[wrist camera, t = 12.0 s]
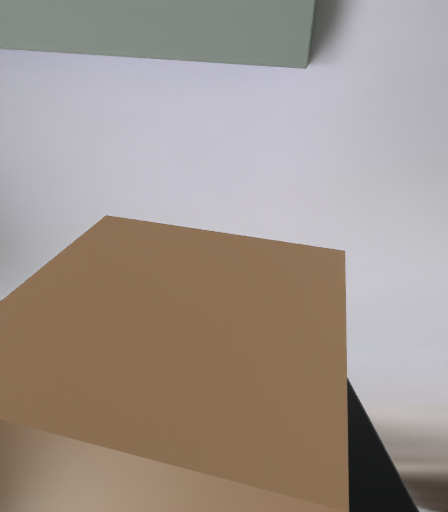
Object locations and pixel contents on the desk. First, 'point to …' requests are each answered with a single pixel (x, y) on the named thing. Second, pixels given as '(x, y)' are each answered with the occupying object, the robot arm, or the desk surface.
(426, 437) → the desk surface
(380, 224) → the desk surface
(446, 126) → the desk surface
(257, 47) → the blueprint plate
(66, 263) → the terracotta block
